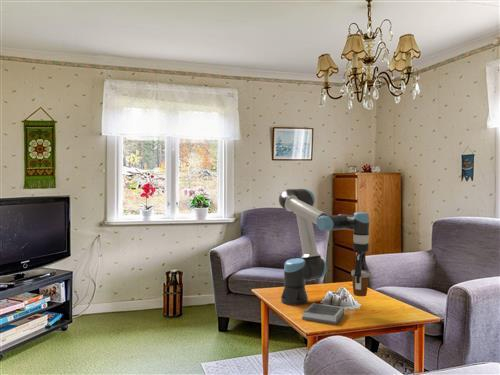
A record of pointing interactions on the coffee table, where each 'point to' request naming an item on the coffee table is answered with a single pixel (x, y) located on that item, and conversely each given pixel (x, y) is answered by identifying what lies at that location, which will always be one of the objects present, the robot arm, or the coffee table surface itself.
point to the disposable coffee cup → (364, 283)
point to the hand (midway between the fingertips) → (360, 286)
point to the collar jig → (323, 313)
